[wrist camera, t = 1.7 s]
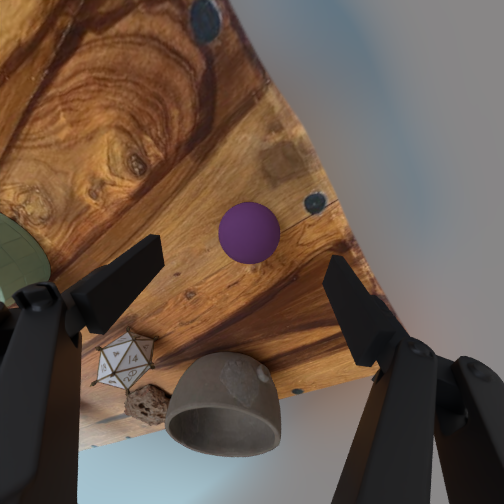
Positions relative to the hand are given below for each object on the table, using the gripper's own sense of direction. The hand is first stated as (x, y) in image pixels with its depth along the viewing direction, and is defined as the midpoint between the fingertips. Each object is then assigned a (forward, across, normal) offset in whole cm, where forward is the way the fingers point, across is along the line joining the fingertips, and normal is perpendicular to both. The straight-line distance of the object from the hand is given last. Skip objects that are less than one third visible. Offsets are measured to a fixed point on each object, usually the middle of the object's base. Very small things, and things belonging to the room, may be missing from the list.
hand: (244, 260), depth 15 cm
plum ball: (+5, 0, 0) cm, 5 cm away
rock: (+8, -19, -48) cm, 52 cm away
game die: (+8, -17, -23) cm, 29 cm away
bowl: (+8, -1, -29) cm, 30 cm away
